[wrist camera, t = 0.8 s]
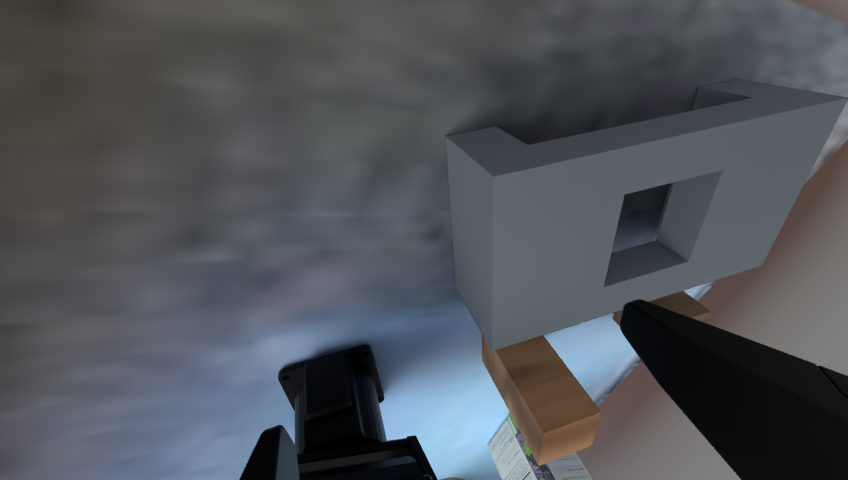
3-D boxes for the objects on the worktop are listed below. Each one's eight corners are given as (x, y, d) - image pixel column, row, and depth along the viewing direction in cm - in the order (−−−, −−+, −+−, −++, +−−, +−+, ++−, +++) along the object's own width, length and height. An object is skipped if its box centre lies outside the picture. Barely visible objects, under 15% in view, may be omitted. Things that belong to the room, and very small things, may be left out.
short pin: (648, 306, 35) (695, 345, 31) (612, 318, 34) (655, 360, 30) (659, 273, 33) (711, 311, 29) (620, 285, 32) (668, 326, 28)
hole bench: (686, 223, 30) (762, 265, 25) (455, 287, 26) (492, 351, 22) (736, 79, 24) (848, 97, 19) (445, 136, 20) (493, 176, 15)
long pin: (524, 347, 33) (591, 445, 25) (482, 360, 32) (538, 466, 25) (527, 314, 30) (601, 411, 23) (482, 328, 30) (543, 433, 22)
